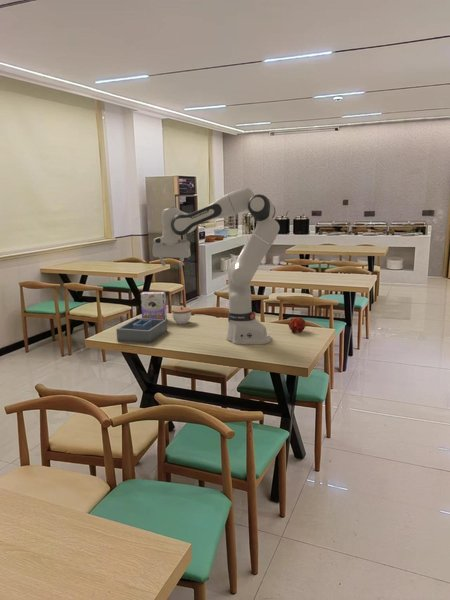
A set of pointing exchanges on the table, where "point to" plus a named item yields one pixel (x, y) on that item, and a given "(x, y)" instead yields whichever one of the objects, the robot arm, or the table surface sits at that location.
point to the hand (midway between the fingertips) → (172, 265)
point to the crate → (141, 331)
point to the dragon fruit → (297, 324)
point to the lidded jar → (181, 315)
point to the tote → (143, 325)
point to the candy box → (153, 305)
